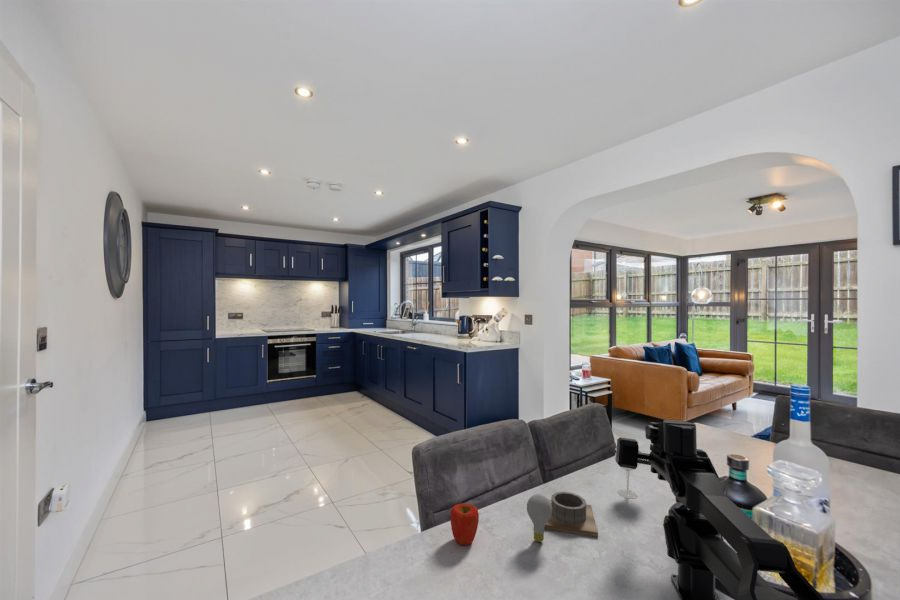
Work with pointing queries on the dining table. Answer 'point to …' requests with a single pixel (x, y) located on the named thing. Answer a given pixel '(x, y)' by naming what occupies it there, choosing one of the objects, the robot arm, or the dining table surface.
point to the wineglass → (626, 492)
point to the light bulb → (539, 514)
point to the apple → (464, 522)
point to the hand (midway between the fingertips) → (647, 447)
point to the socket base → (571, 515)
